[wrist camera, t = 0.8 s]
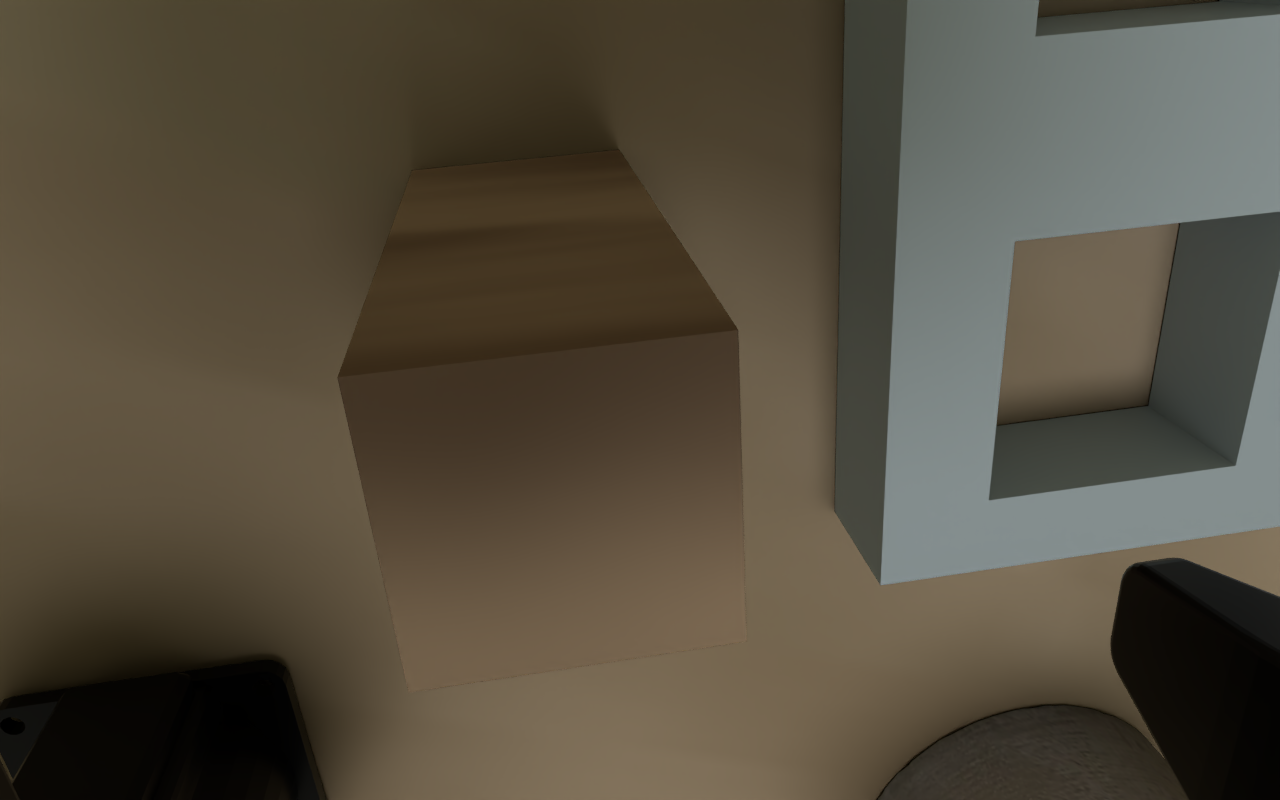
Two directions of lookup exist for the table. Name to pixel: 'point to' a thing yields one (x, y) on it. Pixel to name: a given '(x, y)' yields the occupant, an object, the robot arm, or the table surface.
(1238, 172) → the socket block
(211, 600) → the table surface
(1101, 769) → the pillar candle
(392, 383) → the peg
